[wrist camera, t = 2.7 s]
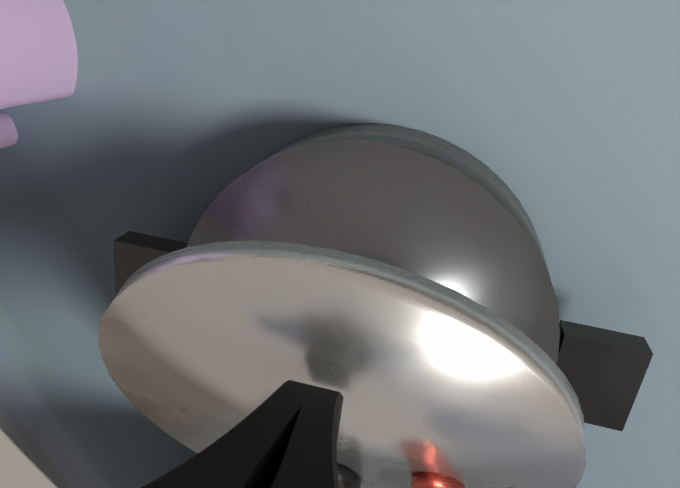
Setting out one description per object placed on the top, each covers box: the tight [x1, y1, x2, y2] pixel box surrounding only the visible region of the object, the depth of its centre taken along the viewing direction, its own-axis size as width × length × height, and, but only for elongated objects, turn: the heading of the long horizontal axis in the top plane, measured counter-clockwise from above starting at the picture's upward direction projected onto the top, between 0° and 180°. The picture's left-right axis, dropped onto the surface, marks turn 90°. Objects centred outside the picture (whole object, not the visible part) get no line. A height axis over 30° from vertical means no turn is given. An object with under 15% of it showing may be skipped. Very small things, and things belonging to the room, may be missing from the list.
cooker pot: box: [114, 124, 653, 431], centre depth 20 cm, size 14×18×4 cm
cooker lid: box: [99, 241, 586, 488], centre depth 16 cm, size 14×14×2 cm
